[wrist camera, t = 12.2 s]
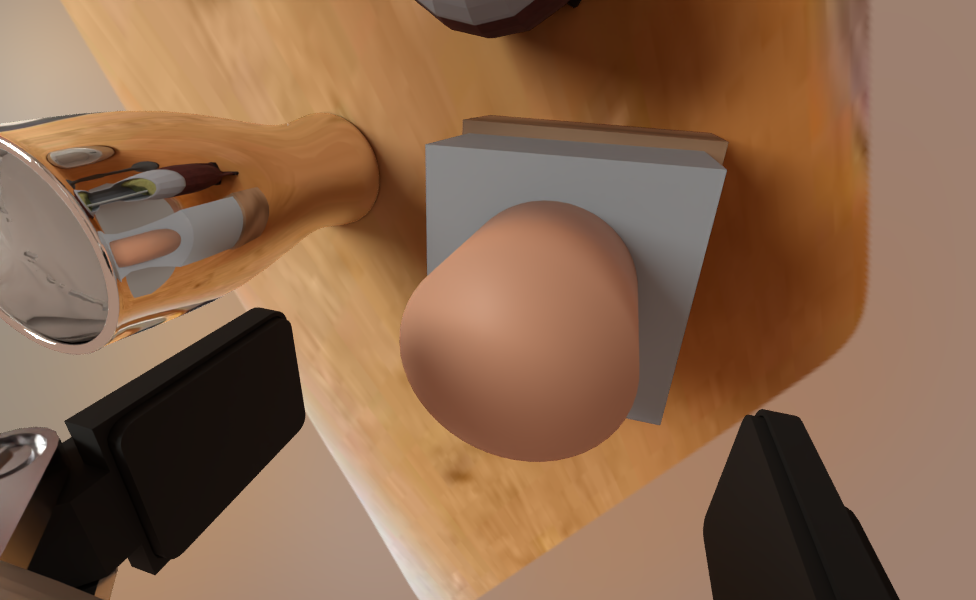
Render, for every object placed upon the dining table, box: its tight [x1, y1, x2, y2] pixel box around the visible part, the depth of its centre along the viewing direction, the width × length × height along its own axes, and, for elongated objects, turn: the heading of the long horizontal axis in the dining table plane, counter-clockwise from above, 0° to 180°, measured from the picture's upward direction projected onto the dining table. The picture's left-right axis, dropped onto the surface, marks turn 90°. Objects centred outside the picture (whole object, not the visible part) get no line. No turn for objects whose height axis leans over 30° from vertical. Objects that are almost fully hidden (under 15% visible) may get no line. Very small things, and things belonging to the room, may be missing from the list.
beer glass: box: [0, 111, 380, 355], centre depth 19 cm, size 7×7×15 cm
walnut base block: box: [462, 115, 729, 165], centre depth 22 cm, size 10×10×4 cm
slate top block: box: [425, 133, 727, 425], centre depth 18 cm, size 9×9×4 cm
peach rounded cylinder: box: [399, 200, 639, 462], centre depth 13 cm, size 6×6×5 cm
